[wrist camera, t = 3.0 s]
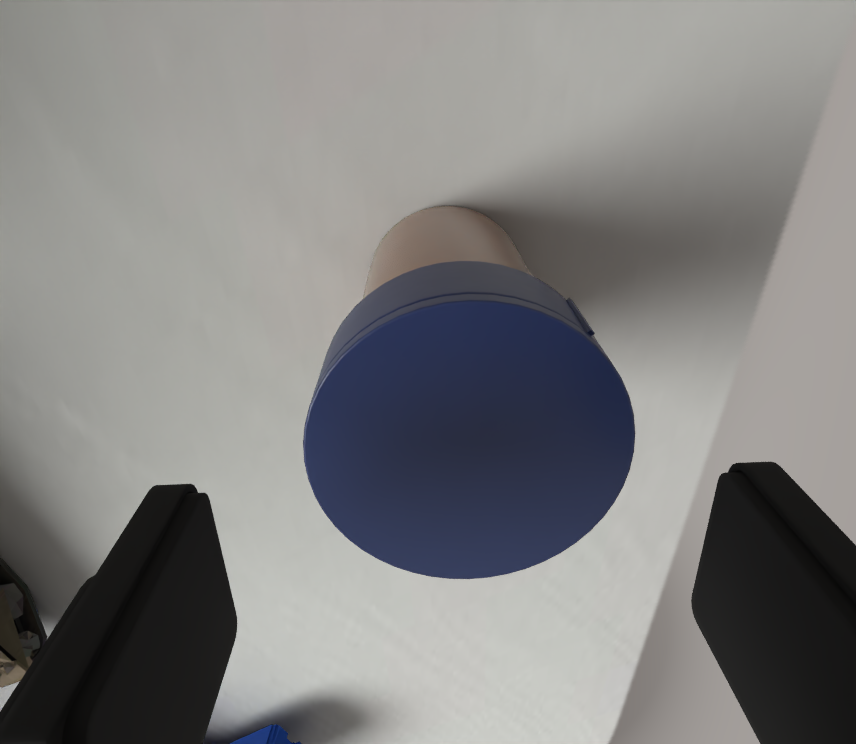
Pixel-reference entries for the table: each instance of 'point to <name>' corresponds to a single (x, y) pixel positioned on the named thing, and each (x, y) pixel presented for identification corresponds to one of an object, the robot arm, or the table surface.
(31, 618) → the tank
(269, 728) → the toy gun
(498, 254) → the jar
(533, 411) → the lid
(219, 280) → the table surface
